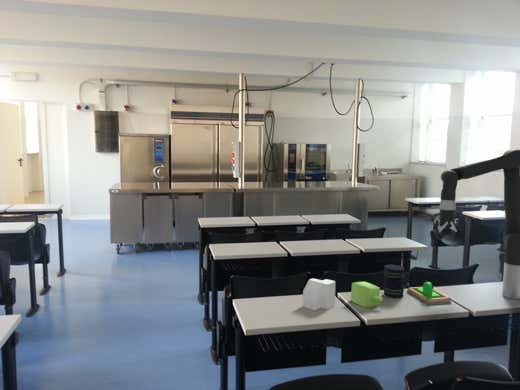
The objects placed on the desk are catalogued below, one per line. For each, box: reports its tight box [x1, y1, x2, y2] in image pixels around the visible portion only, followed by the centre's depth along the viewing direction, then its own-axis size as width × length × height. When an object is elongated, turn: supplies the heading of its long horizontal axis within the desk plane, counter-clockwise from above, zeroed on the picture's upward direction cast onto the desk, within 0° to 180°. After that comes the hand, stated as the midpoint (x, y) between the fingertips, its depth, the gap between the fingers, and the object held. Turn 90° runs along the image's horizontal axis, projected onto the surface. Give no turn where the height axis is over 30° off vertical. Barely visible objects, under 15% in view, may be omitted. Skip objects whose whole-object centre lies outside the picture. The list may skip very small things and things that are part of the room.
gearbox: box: [350, 281, 384, 309], centre depth 203 cm, size 18×10×10 cm, turn 29°
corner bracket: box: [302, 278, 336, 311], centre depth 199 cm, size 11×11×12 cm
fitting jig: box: [406, 286, 452, 306], centre depth 213 cm, size 12×20×2 cm, turn 11°
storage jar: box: [383, 264, 405, 299], centre depth 215 cm, size 10×10×15 cm
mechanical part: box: [416, 281, 440, 298], centre depth 212 cm, size 12×6×8 cm, turn 7°
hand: (445, 238), depth 221 cm, fingers open, 8 cm apart
